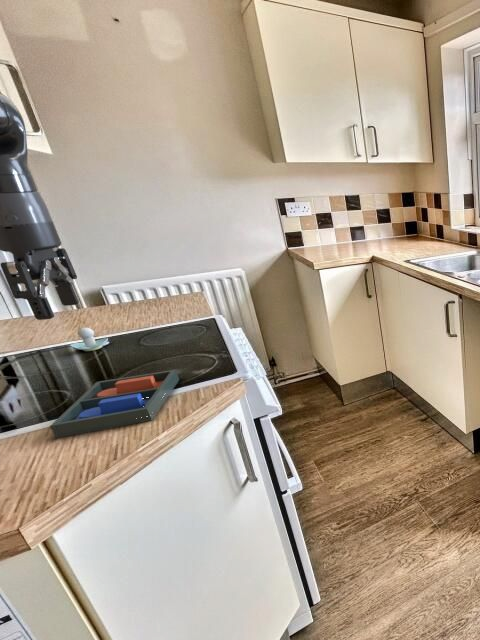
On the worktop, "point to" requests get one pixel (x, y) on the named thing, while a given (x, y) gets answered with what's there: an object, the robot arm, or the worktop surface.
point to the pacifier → (89, 340)
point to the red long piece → (130, 386)
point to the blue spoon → (115, 405)
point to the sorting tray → (74, 425)
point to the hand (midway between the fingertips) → (59, 311)
